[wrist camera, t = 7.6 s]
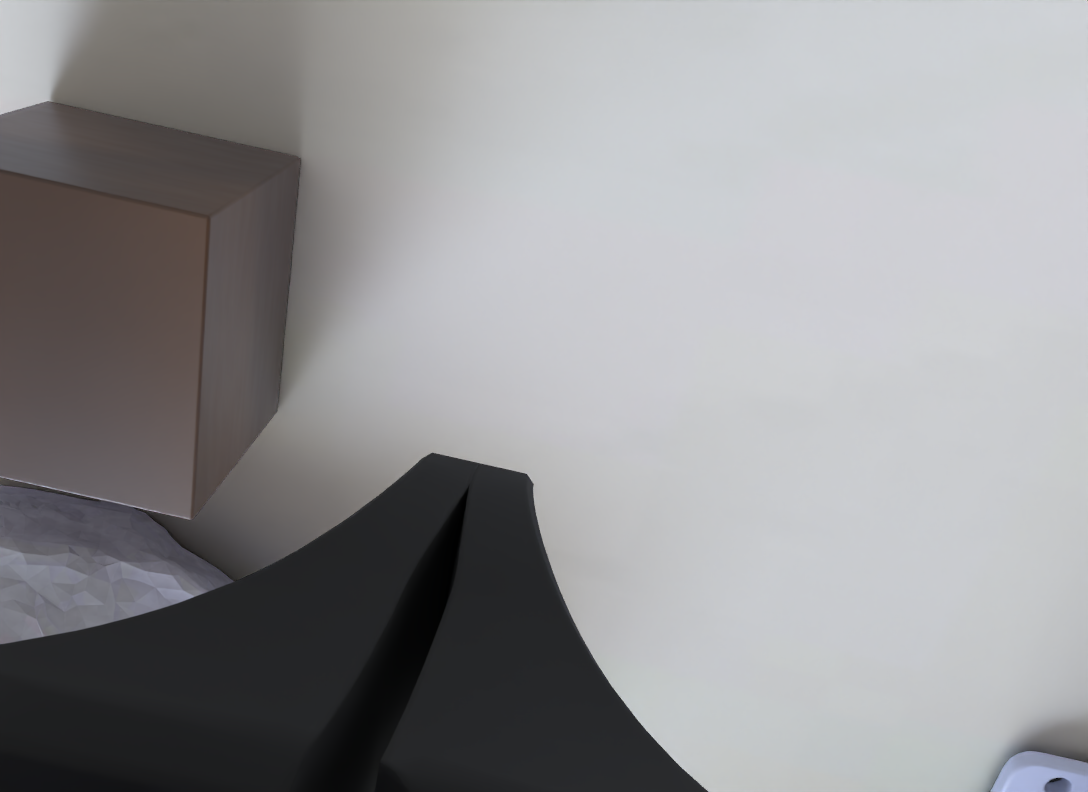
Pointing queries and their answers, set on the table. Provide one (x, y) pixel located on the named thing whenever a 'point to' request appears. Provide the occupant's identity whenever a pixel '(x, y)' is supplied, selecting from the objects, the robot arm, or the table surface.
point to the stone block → (87, 564)
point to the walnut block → (137, 304)
